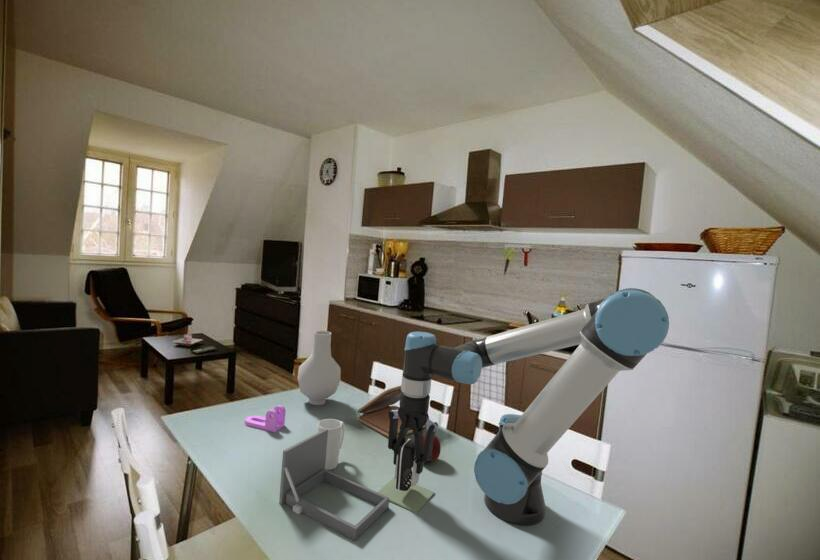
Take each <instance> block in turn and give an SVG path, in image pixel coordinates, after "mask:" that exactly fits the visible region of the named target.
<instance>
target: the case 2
mask: <svg viewBox="0 0 820 560" xmlns="http://www.w3.org/2000/svg"><path fill="white" fill-rule="evenodd" d="M401 392H402V391H401V385H398V386H395V387H391V388H388V389H386V390H384V391H382V392H381V393H379V394H378V395H376V396H375V397H374V398H372V399H370V401H368V402H367V403H365V404H364V405H363V406H361V407H360V408H358V410H356V413H357V414H361V415H359V416H358V417H357V421H358V422H360V423H362V424H363V425H366V426H367V427H369V428H370V429H372V430H375V431H376V432H378V433H380V434H381V435H383V436H384V437H387V439H389V425H390V419H389V415H388V413H389V412H390V411H392V410H393V409H396V410H398V409H399V407H400V406H397V405H396V403H398V402H400V394H401ZM401 423H402V422H401V419H400V417H398V432H397V438H398V435H399V432H400V426H401ZM426 428H427V424H425V425H424V426H423V430H424V429H426ZM410 434H411V435H412V434H413V430H411V429H408V432H407V435H406V436H408V435H410Z"/></svg>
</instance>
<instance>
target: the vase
mask: <svg viewBox="0 0 820 560" xmlns="http://www.w3.org/2000/svg"><path fill="white" fill-rule="evenodd" d="M331 342H332V332H331V331H327V330H326V331H325V330H317V331H314V333H313V343H312V349H311V353H310V355H309V357H308V358H306V360H304V361H303V362H302V363H301V364H300V365H299V366H298V372H297V382H298V387H299V391H300V394H302V395H304V396H305V397H306V398H307V399H308V403H309V404H310V405H314V406H321V405H324V404H326V401H327V399H328V398H330V397H332V396H333V395H334V394H336V393H337V390H338V387H339V385H340V382H341V375H342V373H341V369H342V368H341V367H340V365H339V364H338V363H337V362H336V360H335V359H334V358H333V357H332V349H331V348H332V346H331Z"/></svg>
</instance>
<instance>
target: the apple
mask: <svg viewBox="0 0 820 560" xmlns="http://www.w3.org/2000/svg"><path fill="white" fill-rule="evenodd" d="M423 440H424V448H425V440H426V434H423ZM441 447H442V446H441V441H440V439H439V438H438V437H437V436H436V435H435V434H434V442H433V449H432V457H431V459H430V460H428V461H427V462H435V461H436V460H437V459H438V458H439V457H440V454H441Z"/></svg>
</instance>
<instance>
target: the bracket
mask: <svg viewBox="0 0 820 560" xmlns="http://www.w3.org/2000/svg"><path fill="white" fill-rule="evenodd" d="M244 424H245V426H248V427H252V428H257V429H260V430H264V431H267V432H271V433H272V432H273V433H276V432H278V431H279V430H280V429H282V428H283V427H285V426H286V425H285V424H286V408H285V406H284V405H282V404H278V405H277V406H275V407H274V408H272V409H269V410H268V411H266V413H265V416H261V415H249V416H247V417H245V419H244Z"/></svg>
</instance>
